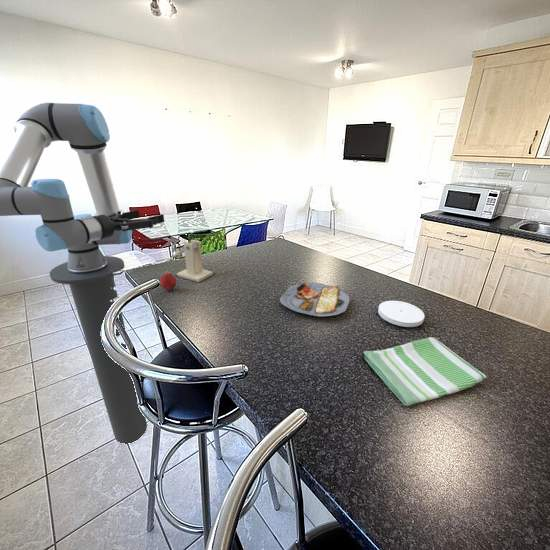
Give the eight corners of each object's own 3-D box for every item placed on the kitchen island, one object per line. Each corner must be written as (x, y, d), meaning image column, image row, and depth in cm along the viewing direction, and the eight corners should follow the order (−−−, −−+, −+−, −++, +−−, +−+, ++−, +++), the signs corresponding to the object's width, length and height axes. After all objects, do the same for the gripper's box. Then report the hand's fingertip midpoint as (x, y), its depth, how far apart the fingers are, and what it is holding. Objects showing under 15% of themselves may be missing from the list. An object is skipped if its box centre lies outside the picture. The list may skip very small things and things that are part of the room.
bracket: (177, 275, 123) (172, 242, 117) (192, 268, 130) (188, 237, 124) (198, 282, 118) (195, 247, 112) (213, 274, 125) (210, 241, 119)
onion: (158, 291, 110) (154, 272, 107) (170, 286, 114) (167, 267, 111) (168, 295, 107) (165, 276, 104) (180, 289, 112) (178, 270, 108)
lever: (173, 261, 125) (169, 253, 125) (179, 258, 128) (175, 251, 128) (193, 250, 117) (189, 242, 116) (199, 247, 120) (195, 239, 119)
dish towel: (360, 356, 78) (361, 348, 77) (430, 341, 85) (432, 333, 84) (406, 409, 63) (408, 399, 62) (487, 386, 69) (491, 377, 68)
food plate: (294, 283, 119) (294, 275, 118) (352, 293, 112) (353, 285, 110) (272, 312, 98) (272, 303, 96) (342, 328, 90) (343, 318, 89)
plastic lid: (368, 310, 100) (369, 304, 99) (400, 304, 105) (402, 297, 104) (398, 333, 88) (399, 326, 87) (432, 324, 93) (434, 318, 92)
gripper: (76, 233, 100) (130, 221, 117) (123, 245, 89) (175, 230, 106) (70, 211, 97) (127, 202, 114) (118, 221, 86) (173, 209, 103)
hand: (150, 215), depth 110 cm, fingers open, 13 cm apart
